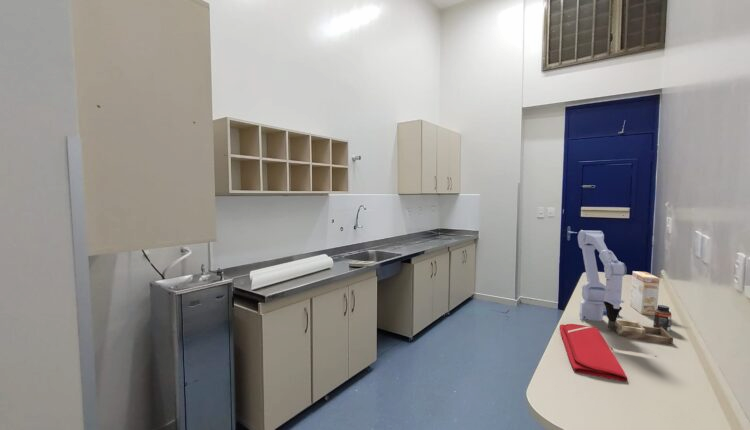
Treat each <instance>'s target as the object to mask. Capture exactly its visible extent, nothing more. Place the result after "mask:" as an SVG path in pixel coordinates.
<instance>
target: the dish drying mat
mask: <svg viewBox="0 0 750 430" xmlns="http://www.w3.org/2000/svg"><path fill="white" fill-rule="evenodd" d="M559 331H560V336H561V339H562V342H563V344H564V348H565V351H566V355H567V357H568V360H569V362H570V364H571V367H572V369H573V372H574V373H577V374H584V375H589V376H594V377H601V378H604V379H605V378H606V379H611V380H614V381H615V380H616V381H621V382H623V383H624V382H627V381H629V379H628V377H627V375H626V373H625V371H624V369H623V367H622V366H621V364H620V363H619V361H618V359H617V357H616V355H614V353H613V351H612V350H611V348H610V347H609V345H608V343H607V341H606V339H605V338H604V336H603V335H602V333H601V331H600V330H599V329H598V328H597V327H596V326H589V325H583V324H575V323H567V324H562V323H561V324H560V325H559Z"/></svg>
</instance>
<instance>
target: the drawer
mask: <svg viewBox="0 0 750 430" xmlns="http://www.w3.org/2000/svg"><path fill="white" fill-rule="evenodd" d="M607 319H608V318H607ZM643 326H644V325H642V324H641V323H640V322H639V321H632V320H625V319H617V318H616V321H615V322H613V321H609V319H608V323H607V328H608V329H610V330H615V331H616V333H617V334H618V335H619V336H622V337H623V331H628V332H635V333H641V334H646V332H645V329H644V328H643Z"/></svg>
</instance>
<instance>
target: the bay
mask: <svg viewBox="0 0 750 430" xmlns="http://www.w3.org/2000/svg"><path fill="white" fill-rule="evenodd" d="M642 326H643V328H644V329H645V334H641V333H635V332H628V331H623V336H622V337H623V338H628V339H633V340H640V341H647V342H651V343H653V342H654V343H657V344H658V343H659V344H665V345H672V346H673V345H674V337H673V336H672V335H671V334H670V333H669V331H666V330H665V329H664V328H662V327H660V328H655V327H653V326H647V325H642ZM647 333H649V334H647ZM654 334H655V335H654Z"/></svg>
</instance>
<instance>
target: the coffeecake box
mask: <svg viewBox="0 0 750 430" xmlns="http://www.w3.org/2000/svg"><path fill="white" fill-rule="evenodd" d="M631 275H632V276H631V286H630V297H629V298H630V299H629V306H630V307H632V308H633V309H635V311H637V312H638V313H639V314H641V315H649V316H654V311H655V310H656V309H658V308H657V307H658V303H659V302H658V300H659V292H660V291H659V290H660V280H661V279H660V278H659V277H658V276H656V275H653V274H652V273H650V272H647V271H637V270H636V271H635V270H632V273H631Z"/></svg>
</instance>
